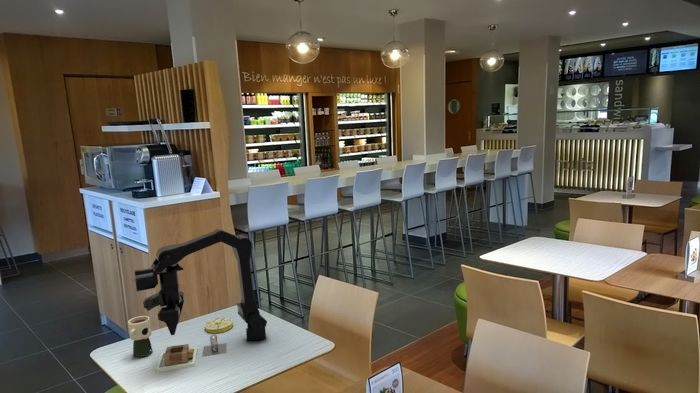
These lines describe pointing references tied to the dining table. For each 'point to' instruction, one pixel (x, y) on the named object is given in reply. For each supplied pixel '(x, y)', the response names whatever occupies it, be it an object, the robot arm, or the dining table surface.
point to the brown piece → (177, 355)
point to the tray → (159, 369)
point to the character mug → (140, 335)
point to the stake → (214, 347)
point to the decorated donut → (218, 325)
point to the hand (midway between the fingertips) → (174, 329)
